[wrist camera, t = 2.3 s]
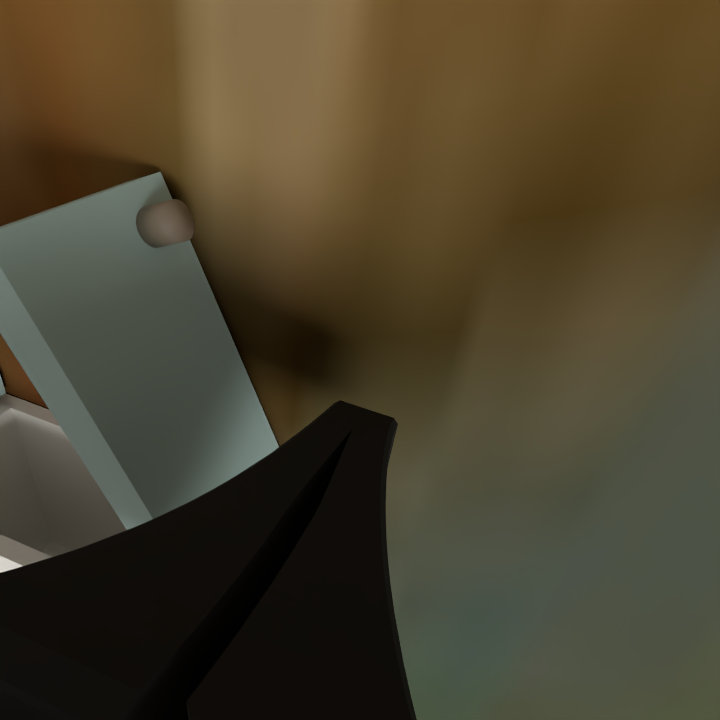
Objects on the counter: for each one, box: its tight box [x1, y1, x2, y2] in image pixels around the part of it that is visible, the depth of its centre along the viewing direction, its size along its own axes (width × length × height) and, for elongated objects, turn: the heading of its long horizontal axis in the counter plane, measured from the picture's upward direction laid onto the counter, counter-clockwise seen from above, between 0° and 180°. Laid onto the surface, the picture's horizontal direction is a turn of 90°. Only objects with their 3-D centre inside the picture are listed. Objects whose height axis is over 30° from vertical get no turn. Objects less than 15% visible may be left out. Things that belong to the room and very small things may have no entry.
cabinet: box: [0, 376, 127, 573], centre depth 18 cm, size 10×18×5 cm, turn 82°
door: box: [0, 172, 279, 530], centre depth 12 cm, size 2×10×5 cm, turn 17°
